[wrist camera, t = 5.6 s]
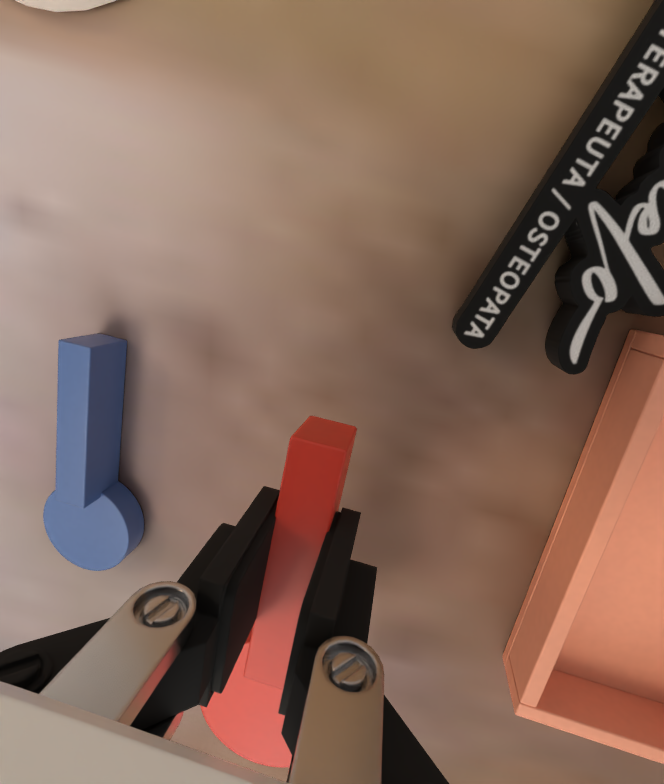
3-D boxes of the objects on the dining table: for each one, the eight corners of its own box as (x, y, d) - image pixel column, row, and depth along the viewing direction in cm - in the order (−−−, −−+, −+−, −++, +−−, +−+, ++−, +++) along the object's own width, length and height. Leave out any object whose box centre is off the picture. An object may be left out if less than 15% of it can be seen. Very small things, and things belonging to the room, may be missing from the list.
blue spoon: (67, 325, 19) (23, 330, 17) (160, 347, 18) (126, 356, 16) (62, 541, 22) (24, 568, 20) (141, 566, 21) (110, 597, 19)
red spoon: (259, 402, 13) (230, 420, 11) (410, 439, 12) (411, 467, 10) (205, 707, 15) (171, 773, 13) (329, 750, 14) (316, 826, 12)
